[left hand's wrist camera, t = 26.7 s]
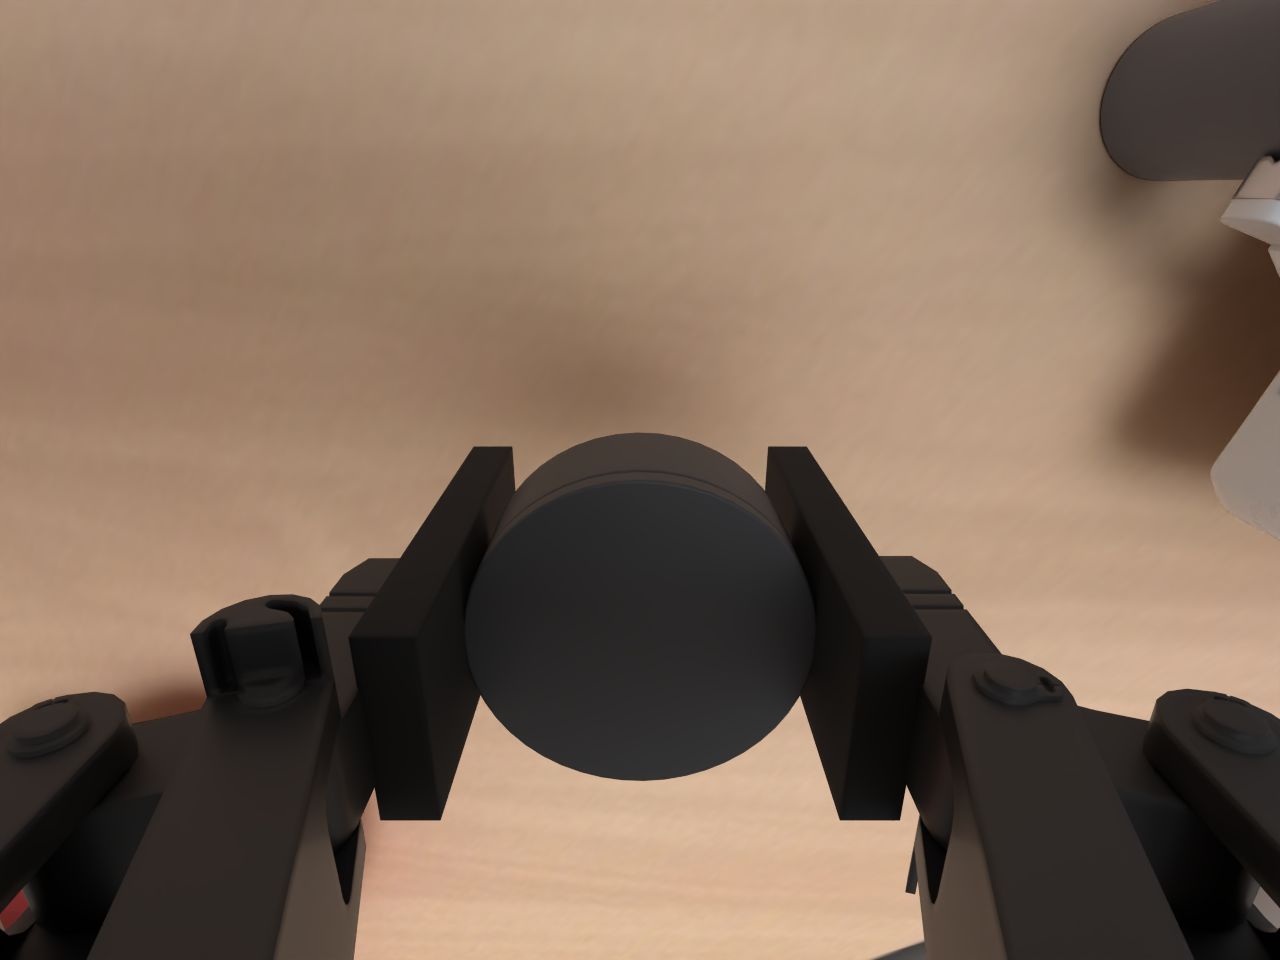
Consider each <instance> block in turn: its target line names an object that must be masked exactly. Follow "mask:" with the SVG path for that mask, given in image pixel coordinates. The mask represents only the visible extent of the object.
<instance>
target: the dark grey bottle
mask: <svg viewBox="0 0 1280 960" xmlns="http://www.w3.org/2000/svg"><path fill="white" fill-rule="evenodd" d="M1101 130H1102V135H1103V139H1104V143H1105V145H1106V148H1107V150H1108V152H1109V154H1110V155H1111V157H1112V158H1113V160H1114V161H1115V162H1116V163H1117V164H1118V165H1119V166H1120V167H1121V168H1122V169H1123V170H1125V171H1126V172H1128V173H1130V174H1131V175H1133V176H1136V177H1138V178H1141V179H1146V180H1154V181H1176V180H1241V179H1245V178H1246V176H1247V175H1248V173H1249V171H1250V170H1251V168H1252V167H1253V165H1254V164H1255V162H1256V161H1257V159H1258V158H1261V157H1268V156H1272V157H1274V158H1276V159H1278V160H1280V0H1221V1H1218V2H1215V3H1212V4H1209V5H1206V6H1203V7H1200V8H1196V9H1193V10H1190V11H1187V12H1184V13H1181V14H1178V15H1175V16H1173V17H1170V18H1167V19H1165V20H1164V21H1162V22H1160V23H1158V24H1156V25H1155V26H1153V27H1152V28H1150V29H1149V30H1147V31H1146V32H1145V33H1144V34H1143V35H1142V36H1140V37H1139V38H1138V39H1137V40H1136V41H1135V42H1134V43H1133V44H1132V45H1131V46H1130V47H1129V49H1128V50H1127V51H1126V52H1125V54H1124V55H1123V56H1122V58H1121V59H1120V61H1119V62H1118V64H1117V65H1116V67H1115V69H1114V71H1113V73H1112V75H1111V77H1110V79H1109V81H1108V84H1107V87H1106V90H1105V93H1104V97H1103V101H1102V108H1101Z"/></svg>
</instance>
